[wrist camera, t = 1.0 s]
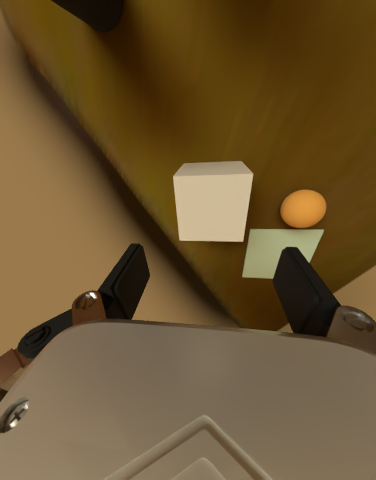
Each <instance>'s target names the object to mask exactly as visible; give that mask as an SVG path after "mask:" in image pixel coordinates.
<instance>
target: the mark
mask: <svg viewBox="0 0 376 480" xmlns="http://www.w3.org/2000/svg"><path fill="white" fill-rule="evenodd" d="M323 232H324V230H312V229H250V234H249V239H248V245H247V251H246V257H245V263H244V268H243V274H242V277H251V278H272V279H273V277H274V274H275V271H276V267H277V264H278V261H279V258H280V255H281V252H282V249H285V248H286V247H297V248H298V249H299V250H300V251H301V253H302V254H303V255H304V257H305V258H306V259H307V261H308V262H310V260H311V258H312V256H313V254H314V251H315V249H316V247H317V245H318V243H319V240H320V238H321V236H322V234H323Z"/></svg>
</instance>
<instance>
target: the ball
mask: <svg viewBox="0 0 376 480" xmlns="http://www.w3.org/2000/svg"><path fill="white" fill-rule="evenodd" d="M325 212H326V202H325V200H324V198H323V197H322V196H321V195H320V194H319V193H317V192H315V191H312V190H299V191H296V192H293V193H292V194H290V195H289V196H287V197H286V198H285V200H284V201H283V203H282V205H281V209H280V213H281V217H282V219H283V220H284V221H285V222H286V223H287V224H288V225H290V226H292V227H296V228H306V227H310V226H312V225H314V224H316V223H318V222H319V221H320V220H321V219H322V218H323V216H324V214H325Z"/></svg>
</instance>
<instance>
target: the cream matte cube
mask: <svg viewBox="0 0 376 480" xmlns="http://www.w3.org/2000/svg"><path fill="white" fill-rule="evenodd" d="M252 179H253V173H252V172H251V171H250V170H249V169H248V168H247V167H246V165H245V164H244V163H243V162H242V161H229V162H205V163H184V164H183V165H182V166H181V168H180V169H179V170H178V171H177V172H176V174H175V175H174V176H173V180H174V190H175V199H176V209H177V219H178V229H179V239H180V240H183V241H234V242H243V239H244V232H245V225H246V219H247V212H248V206H249V199H250V192H251V186H252Z"/></svg>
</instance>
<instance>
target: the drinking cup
mask: <svg viewBox="0 0 376 480" xmlns="http://www.w3.org/2000/svg"><path fill="white" fill-rule="evenodd" d="M51 1H53V2H54V3H56V4H58V5H59V6H61V7H62V8H64V9H65V10H67V11H68V12H70V13H71V14H73V15H75V16H76V17H78V18H79V19H81V20H82V21H84V22H85V23H87V24H88V25H90V26H92V27H93V28H95V29H96V30H99V31H103V32H105V31H109V30H111V29H113V28H114V27H115V26H116V24H117V23H118V21H119V19H120V16H121V12H122V6H123V0H51Z"/></svg>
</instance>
